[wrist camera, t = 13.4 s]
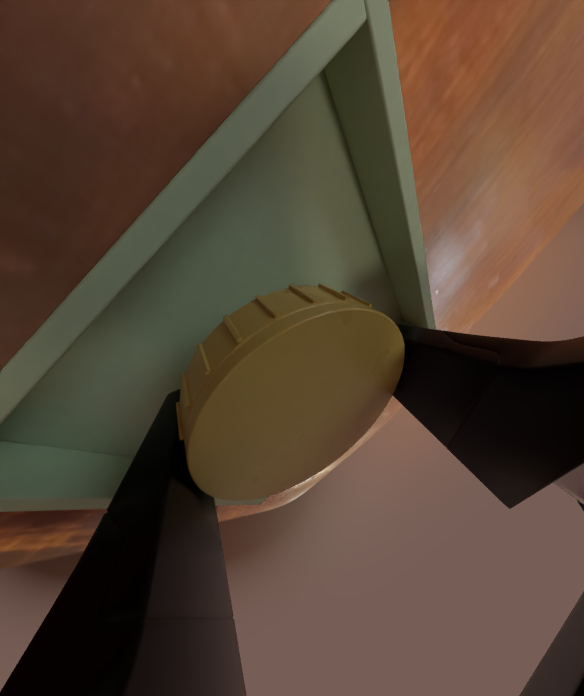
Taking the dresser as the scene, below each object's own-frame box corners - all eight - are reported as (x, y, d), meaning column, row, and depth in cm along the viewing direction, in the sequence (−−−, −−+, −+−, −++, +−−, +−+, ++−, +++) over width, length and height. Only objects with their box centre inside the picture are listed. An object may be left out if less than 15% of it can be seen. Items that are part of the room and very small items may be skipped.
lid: (377, 254, 6) (433, 267, 5) (359, 400, 10) (387, 427, 9) (113, 339, 4) (96, 398, 3) (224, 479, 8) (236, 528, 7)
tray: (249, 472, 13) (260, 504, 11) (-56, 434, 5) (-132, 517, 4) (404, 315, 12) (436, 329, 11) (315, 19, 5) (382, -57, 3)
